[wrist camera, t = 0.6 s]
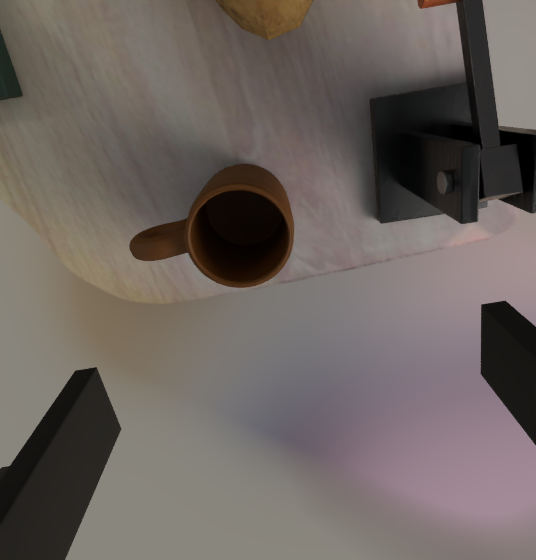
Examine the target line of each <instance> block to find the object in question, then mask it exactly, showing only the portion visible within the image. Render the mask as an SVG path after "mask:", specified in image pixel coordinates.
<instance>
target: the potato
mask: <svg viewBox="0 0 536 560" xmlns="http://www.w3.org/2000/svg"><path fill="white" fill-rule="evenodd" d="M216 2H217V3H218V4H219V6H220V7H221V8H222V10H223V11H224V12H226V13H227V14H228V15H229V16H230V17H231V18H232V19H233V20H234V21H235V22H236V23H237V24H238V25H239V26H240V27H241V28H242V29H244V30H246V31H249V32H251V33H253V34H256V35H258V36H260V37H263V38H265V39H267V40H270V39H273V38H275V37H277V36H279V35H282V34H284V33H286V32H289V31H291V30H293V29H295V28H298V27H299V26H300V25H301V23H302V21H303V19H304V17H305V15H306V13H307V11H308V9H309V7H310V6H311V4H312V2H313V0H216Z"/></svg>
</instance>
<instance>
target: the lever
mask: <svg viewBox="0 0 536 560" xmlns="http://www.w3.org/2000/svg"><path fill="white" fill-rule="evenodd" d="M450 3H456V5H457V13H458V21H459V28H460V36H461V43H462V51H463V59H464V66H465V74H466V82H467V89H468V97H469V105H470V112H471V120H472V127H473V135H474V143H476V144H480V169H479V202H481V201H488V200H494V199H501V198H505V197H509V196H512V195H516V194H519V193H522V192H523V185H522V177H521V169H520V162H519V154H518V146H517V144H511V145H505V146H501V143H500V135H499V127H498V119H497V111H496V104H495V96H494V88H493V80H492V73H491V65H490V57H489V49H488V41H487V34H486V26H485V18H484V10H483V3H482V0H418V6H419V8H421V9H423V8H428V7H434V6H439V5H445V4H450Z"/></svg>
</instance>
